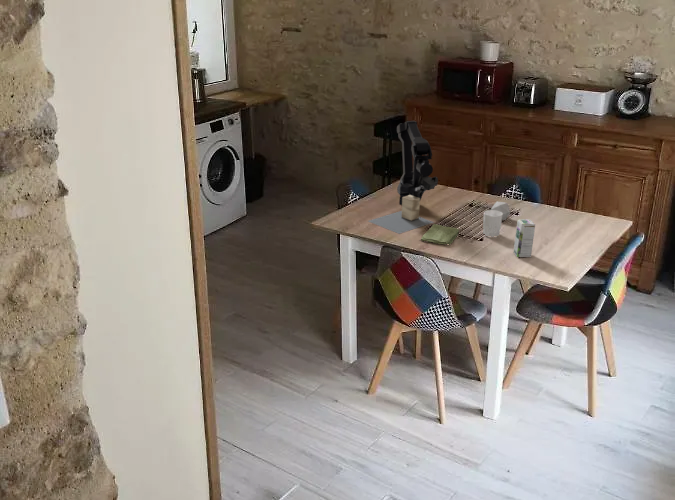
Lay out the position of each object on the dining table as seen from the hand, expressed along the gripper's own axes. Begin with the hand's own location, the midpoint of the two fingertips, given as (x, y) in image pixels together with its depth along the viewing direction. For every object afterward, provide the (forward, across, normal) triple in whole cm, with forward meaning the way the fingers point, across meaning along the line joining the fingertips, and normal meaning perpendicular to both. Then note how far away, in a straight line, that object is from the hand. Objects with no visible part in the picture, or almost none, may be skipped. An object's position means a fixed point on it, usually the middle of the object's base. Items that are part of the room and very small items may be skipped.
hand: (417, 203), depth 318 cm
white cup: (+8, +10, -34) cm, 36 cm away
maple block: (+6, -4, 0) cm, 8 cm away
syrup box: (+8, +2, -56) cm, 57 cm away
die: (+8, +29, -24) cm, 39 cm away
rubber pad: (+8, -10, 0) cm, 13 cm away
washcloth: (+8, -9, -22) cm, 25 cm away
